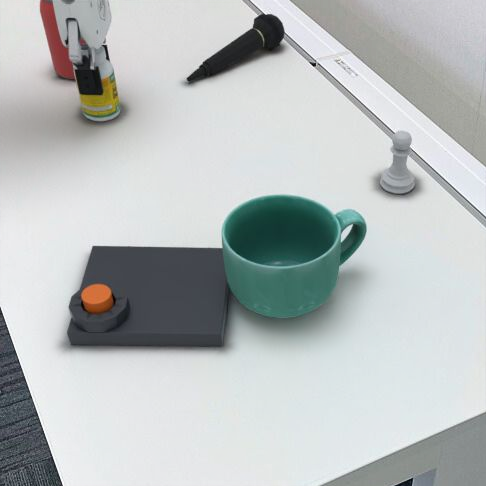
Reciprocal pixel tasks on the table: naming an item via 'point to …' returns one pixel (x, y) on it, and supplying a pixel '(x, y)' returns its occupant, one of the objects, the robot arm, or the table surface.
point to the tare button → (97, 299)
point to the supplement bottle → (109, 101)
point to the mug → (287, 252)
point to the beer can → (56, 41)
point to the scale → (153, 297)
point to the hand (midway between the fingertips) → (96, 81)
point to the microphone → (244, 45)
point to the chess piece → (399, 166)
